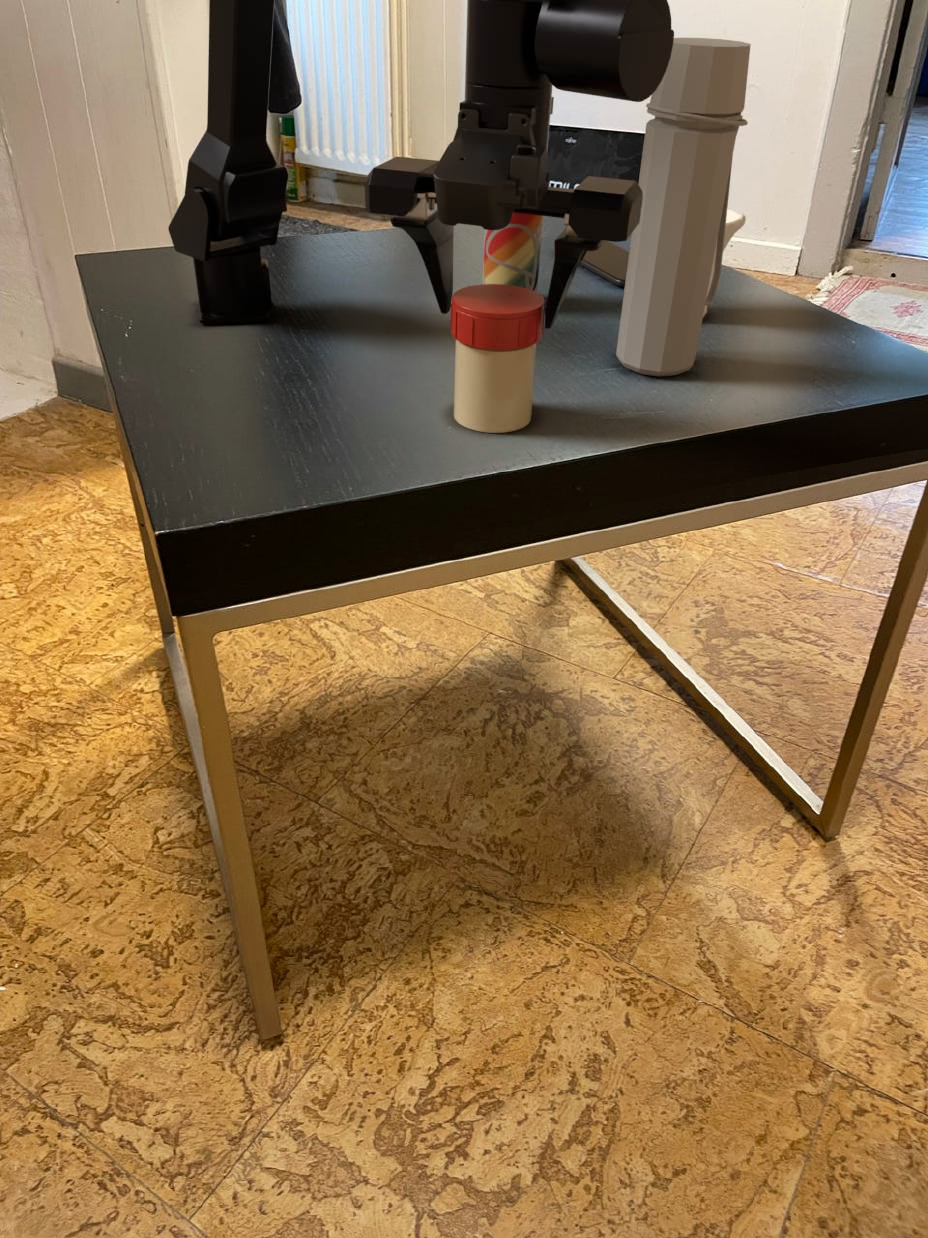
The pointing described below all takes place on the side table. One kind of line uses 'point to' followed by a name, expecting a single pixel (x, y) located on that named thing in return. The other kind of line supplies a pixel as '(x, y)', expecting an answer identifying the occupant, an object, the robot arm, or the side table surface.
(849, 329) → the side table surface
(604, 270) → the smartphone
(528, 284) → the lotion bottle
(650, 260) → the water bottle
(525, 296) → the jar lid
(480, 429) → the jar
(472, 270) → the side table surface
